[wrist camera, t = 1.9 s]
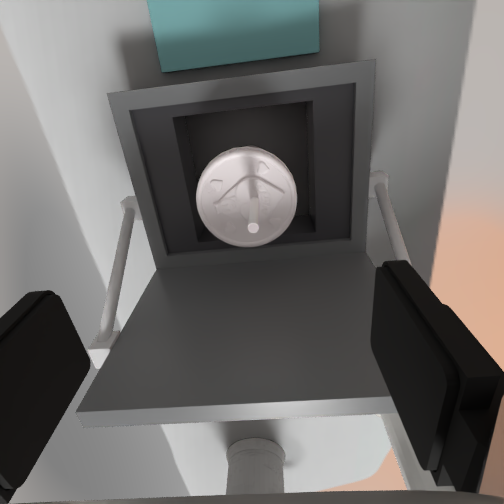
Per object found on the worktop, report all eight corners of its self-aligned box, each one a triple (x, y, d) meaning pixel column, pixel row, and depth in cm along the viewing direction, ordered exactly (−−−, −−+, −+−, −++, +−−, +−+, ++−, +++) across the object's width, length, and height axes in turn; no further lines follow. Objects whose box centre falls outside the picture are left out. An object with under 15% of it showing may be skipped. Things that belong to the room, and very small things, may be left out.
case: (376, 60, 25) (601, 15, 8) (366, 242, 32) (478, 412, 15) (113, 93, 26) (-133, 111, 10) (159, 260, 33) (59, 431, 17)
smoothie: (293, 193, 30) (316, 271, 17) (226, 208, 31) (201, 293, 18) (279, 119, 27) (293, 150, 14) (205, 139, 28) (159, 184, 15)
